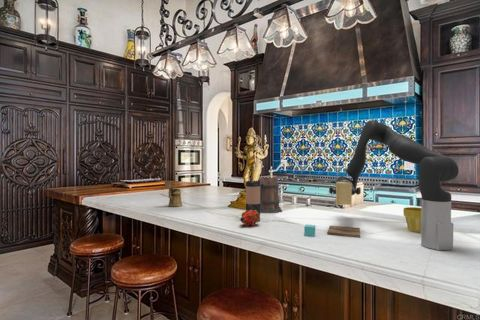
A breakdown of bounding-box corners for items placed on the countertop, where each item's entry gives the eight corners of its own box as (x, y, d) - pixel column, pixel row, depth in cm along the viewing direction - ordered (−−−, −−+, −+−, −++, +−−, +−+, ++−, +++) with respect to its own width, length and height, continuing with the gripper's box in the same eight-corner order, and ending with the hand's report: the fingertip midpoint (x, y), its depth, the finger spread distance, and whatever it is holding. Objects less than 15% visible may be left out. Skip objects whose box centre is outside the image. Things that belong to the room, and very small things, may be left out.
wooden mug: (160, 207, 192) (160, 179, 191) (174, 204, 204) (174, 178, 203) (171, 208, 188) (171, 180, 187) (185, 205, 199) (185, 178, 199)
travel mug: (263, 219, 157) (263, 181, 157) (253, 221, 151) (253, 182, 151) (252, 217, 162) (252, 180, 162) (242, 219, 157) (242, 181, 156)
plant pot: (397, 229, 137) (398, 207, 137) (413, 227, 141) (413, 206, 141) (419, 234, 128) (419, 211, 127) (435, 232, 132) (435, 210, 131)
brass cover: (336, 203, 135) (337, 181, 135) (351, 204, 133) (351, 182, 132) (336, 206, 129) (336, 182, 129) (351, 207, 127) (351, 183, 127)
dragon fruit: (260, 226, 148) (243, 234, 139) (249, 214, 152) (232, 222, 144) (267, 214, 143) (249, 222, 135) (255, 202, 148) (238, 209, 139)
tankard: (263, 207, 194) (263, 176, 193) (287, 209, 184) (287, 177, 184) (243, 213, 174) (243, 178, 174) (269, 216, 165) (269, 180, 165)
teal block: (305, 233, 129) (305, 224, 129) (315, 234, 128) (315, 225, 128) (304, 236, 126) (304, 226, 126) (314, 236, 124) (314, 227, 124)
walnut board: (329, 227, 140) (329, 225, 140) (359, 230, 135) (359, 227, 135) (327, 234, 128) (327, 232, 128) (360, 237, 123) (360, 235, 123)
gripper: (329, 179, 147) (326, 183, 131) (361, 180, 141) (362, 184, 126) (329, 195, 147) (326, 200, 131) (361, 196, 142) (361, 202, 126)
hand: (343, 192), depth 129 cm, fingers closed on brass cover, 6 cm apart
